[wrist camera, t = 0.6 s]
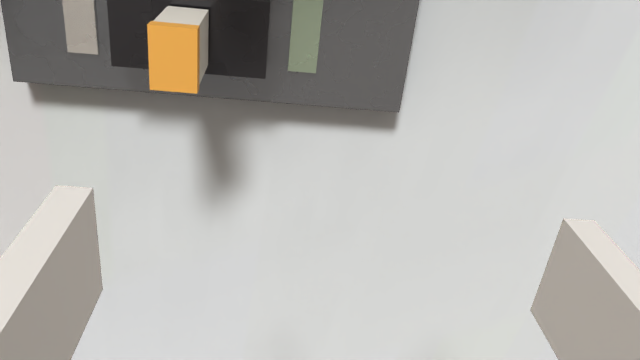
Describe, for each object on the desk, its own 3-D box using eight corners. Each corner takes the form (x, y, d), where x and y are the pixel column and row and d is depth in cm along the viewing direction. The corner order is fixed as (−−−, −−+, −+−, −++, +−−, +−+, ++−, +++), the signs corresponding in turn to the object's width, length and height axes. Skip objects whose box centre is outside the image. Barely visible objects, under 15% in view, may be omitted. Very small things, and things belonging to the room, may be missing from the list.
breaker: (167, 62, 29) (149, 89, 25) (166, 4, 27) (147, 24, 24) (209, 65, 29) (197, 93, 25) (209, 8, 28) (197, 29, 24)
